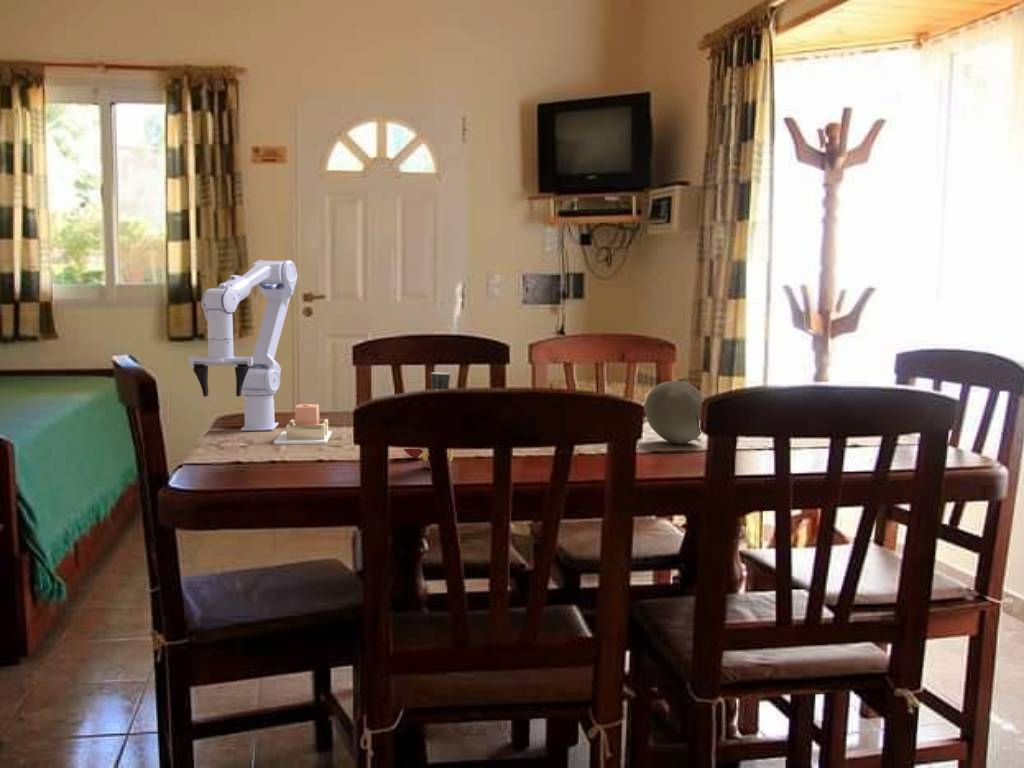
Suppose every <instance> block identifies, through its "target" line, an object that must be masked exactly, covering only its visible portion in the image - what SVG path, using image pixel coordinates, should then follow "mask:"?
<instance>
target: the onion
mask: <svg viewBox="0 0 1024 768" xmlns="http://www.w3.org/2000/svg"><path fill="white" fill-rule="evenodd" d="M403 450H404V452H405V453H406V454H407V455H408V456H410V457H411V458H412V459H417V458H419V457H420V456H421V455H423V450H421V449H403Z"/></svg>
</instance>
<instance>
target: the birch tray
mask: <svg viewBox="0 0 1024 768" xmlns="http://www.w3.org/2000/svg"><path fill="white" fill-rule="evenodd" d="M285 427H286V430H285V431H287V440H307V439H325V437H326V436H327V434H328V431H329V419H328V418H322V419H321V418H319V425H295V418H293V419H291V420H289V422H288V423H287V424H286V426H285Z"/></svg>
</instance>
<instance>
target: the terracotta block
mask: <svg viewBox="0 0 1024 768" xmlns="http://www.w3.org/2000/svg"><path fill="white" fill-rule="evenodd" d="M294 417H295V418H294V419H295V425H319V419H320V404H319V403H318V404H317V403H316V404H315V403H313V404H312V403H311V404H310V403H309V404H308V403H303V404H302V403H298V404H297V405H296V406H295V407H294Z"/></svg>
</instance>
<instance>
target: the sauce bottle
mask: <svg viewBox="0 0 1024 768" xmlns="http://www.w3.org/2000/svg"><path fill="white" fill-rule="evenodd" d="M429 379H430V384H431V385H430V391H431V390H433V389H449V390H450V380H451V373H450V372H444V371H443V372H442V371H434V372H430V377H429ZM453 451H454V449H453V450H449V452H448V453H449V461H450V468H451V467H452V465H453V464H452V463H453V459H454V457H453V456H454V452H453ZM422 460H423V461H422V466H423V468H424V467H426V468H425V469H427V468H428V467H429V464H428V453H427V450H425V449H423V453H422Z"/></svg>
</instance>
